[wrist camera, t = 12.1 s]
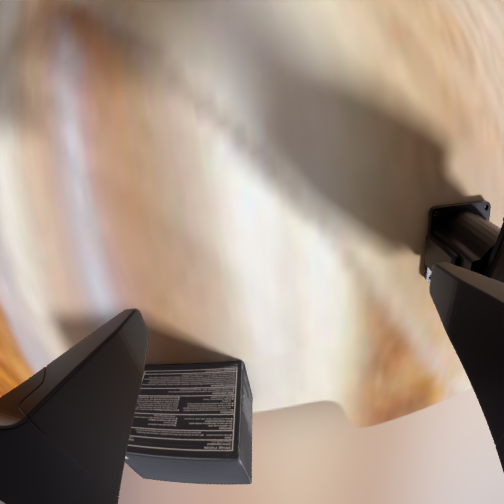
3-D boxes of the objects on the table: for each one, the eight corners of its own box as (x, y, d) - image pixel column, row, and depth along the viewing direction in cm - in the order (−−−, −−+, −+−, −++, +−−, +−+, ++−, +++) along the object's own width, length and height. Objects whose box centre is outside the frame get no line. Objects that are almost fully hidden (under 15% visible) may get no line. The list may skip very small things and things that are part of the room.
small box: (161, 402, 31) (141, 480, 21) (140, 363, 28) (108, 449, 18) (254, 399, 30) (253, 487, 20) (244, 358, 27) (239, 459, 18)
